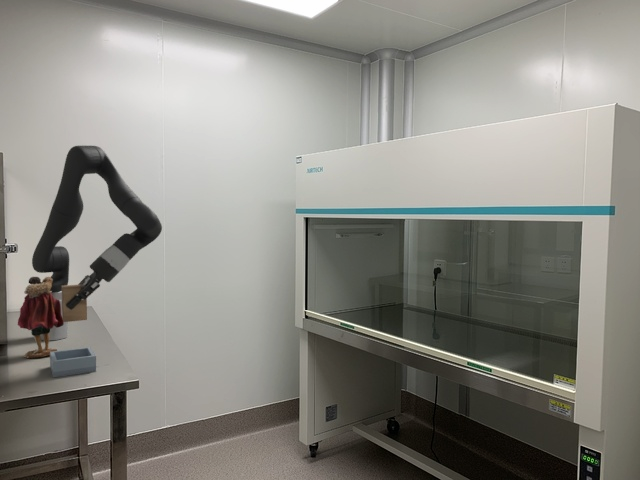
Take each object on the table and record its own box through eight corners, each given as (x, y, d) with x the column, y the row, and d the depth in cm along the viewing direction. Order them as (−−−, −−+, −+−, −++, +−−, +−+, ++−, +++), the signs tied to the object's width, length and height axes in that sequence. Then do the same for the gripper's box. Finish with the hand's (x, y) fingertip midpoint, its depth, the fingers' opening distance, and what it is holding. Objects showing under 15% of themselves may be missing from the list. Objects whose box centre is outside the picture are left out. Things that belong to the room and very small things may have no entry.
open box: (50, 366, 146) (50, 351, 146) (90, 361, 152) (90, 346, 152) (53, 377, 137) (53, 361, 136) (96, 371, 143) (96, 356, 142)
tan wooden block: (62, 319, 145) (61, 285, 145) (84, 316, 149) (83, 284, 148) (64, 322, 141) (63, 287, 141) (87, 319, 145) (86, 286, 144)
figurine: (54, 347, 166) (53, 274, 165) (68, 353, 160) (67, 277, 158) (13, 355, 157) (12, 277, 155) (26, 362, 150) (25, 280, 149)
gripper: (96, 253, 154) (54, 294, 148) (104, 256, 142) (59, 301, 136) (115, 269, 157) (74, 310, 151) (124, 273, 145) (80, 318, 139)
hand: (67, 306), depth 144 cm, fingers closed on tan wooden block, 5 cm apart
